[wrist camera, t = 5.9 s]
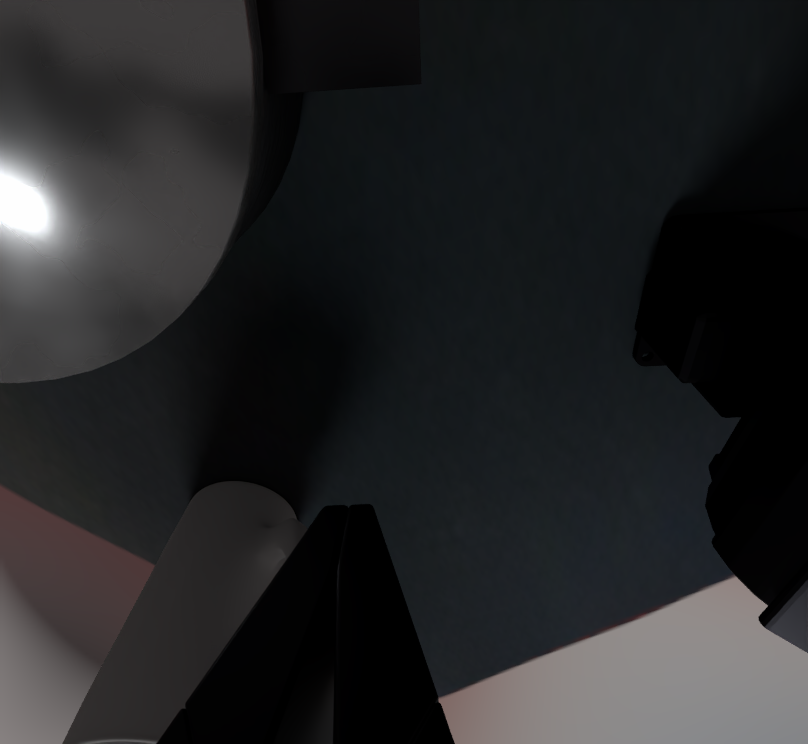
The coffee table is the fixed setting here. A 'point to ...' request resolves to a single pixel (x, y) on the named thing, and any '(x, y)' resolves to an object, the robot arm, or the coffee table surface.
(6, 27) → the lid
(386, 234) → the coffee table surface
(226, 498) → the mug
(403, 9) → the cooking pot
